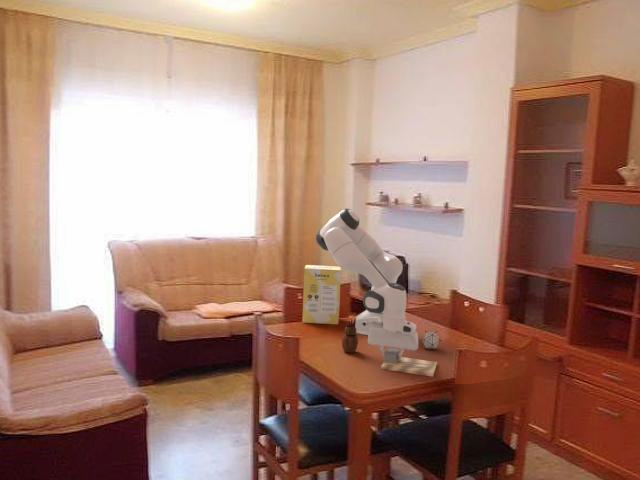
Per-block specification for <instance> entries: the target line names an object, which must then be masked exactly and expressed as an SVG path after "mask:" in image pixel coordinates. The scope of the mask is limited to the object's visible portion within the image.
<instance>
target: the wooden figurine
mask: <svg viewBox="0 0 640 480" xmlns="http://www.w3.org/2000/svg"><path fill="white" fill-rule="evenodd" d="M355 324H356V317H354V320H353V318H351V320H349V321H348V322H347V323H346V326H345V328H344V333H345V334H343V336H342V338H341V348H342V349H343V351H344V352H345V353H347V354H348V353H349V354H351V353H355V352H356V351H357V349H358V345H359V338H358V336H357V335H356V334H357V333H356V328H355Z"/></svg>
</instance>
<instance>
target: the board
mask: <svg viewBox="0 0 640 480" xmlns="http://www.w3.org/2000/svg"><path fill="white" fill-rule="evenodd" d="M437 366H438V362H437V361H431V360H424V359H417V358H412V357H411V358H410V357H403V356H402V357H401V359H399V360H398V361H397V363H396V365H389V364H384V362H383V363H382V365H381V366H380V368H381V370H385V371H386V370H388V371H393V372H400V373H406V374H413V375H420V376H427V377H433V378H434V374H435V372H436V368H437Z"/></svg>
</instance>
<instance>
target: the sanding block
mask: <svg viewBox="0 0 640 480" xmlns="http://www.w3.org/2000/svg"><path fill="white" fill-rule="evenodd" d="M398 354H400V349H399V348H392V347H387V349H386V351H385V354H384V357H383V363H384V364H389V365H396V363H397V361H398V360H399V359H397V355H398Z"/></svg>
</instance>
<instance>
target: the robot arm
mask: <svg viewBox="0 0 640 480" xmlns="http://www.w3.org/2000/svg"><path fill="white" fill-rule="evenodd" d="M315 241H316V243H317V245H318V246H319V247H320V248H321V249H322V250H324V251H328V252H329V254H330V255H331V257H332V259H333V260H334V262H335V263H336V264H337V266H338V267H341V270H342V269H343V270H344V271H348V272H353V273H357V274H359V275H362V276H364V278H366V279H367V280H368V282H369V283H370V284H371V289H369V290H367V291H365V293H364V294H363V297H362V303H363V306H364V308H365V310H364V311H362V312H361V313H359V314H358V315H357V316H356V317H355V318H356V324H355V328H356V334H358V335H364V336H367V344H368V345H373V346H379V349H380V352H381V354H382V355H381V356H382V358H384V354H385V352H386V351H385V349H384V348H385V347H386V348H391V349H398V350H399V354H398V355H397V359H401V357H403V354H404V352H405V350H408V351H417V350H418V348H419V334H418V332H417V331H416V330H417V324H415V323H413V322H412V321H409V320H407V319H406V313H405V312H406V309H407V291H406V288H405V287H404V286H403V285H402V284H399V283H397V281H398V278H399V276H400V275H401V274H402V273H403V267H404V266H403V263H402V261H401V260H400V259H399V258H398V257H397V256H396V255H393V254H391V253H388V252H386V251H384V250H383V248H382V247H381V246H380V245H379V244H378V243H377V241H376V240H375V239H374V238H373V236H371V235H370V234H369V233H368V232H366V231H365V230H364V229H363V228H362V227H361V226H360V218H359V216H358V215H357V213H356V212H355V211H353V210H352V209H350V208H343V209H342V210H339V212H338V213H337V214H335V215H334V216H333V217H331V218H330V219H329V220H328V221H327V223H326V224H324V226H323V227H322V228H321V229H319V231H318V232H317V233H316V235H315Z"/></svg>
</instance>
